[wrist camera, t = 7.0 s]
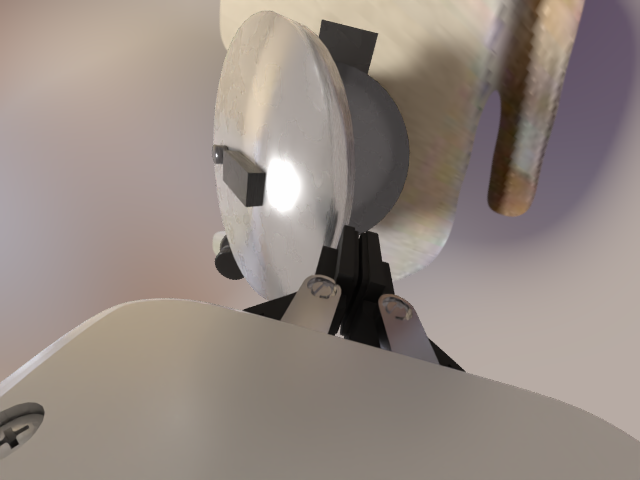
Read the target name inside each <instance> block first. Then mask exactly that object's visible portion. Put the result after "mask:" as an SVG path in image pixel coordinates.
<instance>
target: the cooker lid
mask: <svg viewBox="0 0 640 480" xmlns="http://www.w3.org/2000/svg"><path fill="white" fill-rule="evenodd" d="M212 157H213V161H214V164H215V165H214V166H215V178H216V187H217V194H218V200H219V206H220V211H221V216H222V221H223V224H224V229H225V232H226V236H227V239H228V242H229V245H230V248H231V250H232V253H233V256H234V258H235V260H236V262H237V265H238V267H239V269H240V270H241V272H242V274H243V276H244V277H245V279H246V280H247V282H248V283H249V284H250V286H251V287H252V288H253V289H254V290H255V291H256V292H257V293H258V294H259V295H260V296H262V297H263V298H265V299H267V300H269V301H271V300H274V299H277V298H280V297H283V296H286V295H289V294H292V293H295V292H298V290H299V288H300V287H301V285H302V283H303V281H304V280H305V279H306V278H307V277H309V276H311V275H315V272H316V269H317V265H318V261H319V258H320V254H321V250H322V247H323V245H324V246H327V247H331V248H335V249H337V246H338V242H339V239H340V236H341V233H342V230H343V227H344V225H349V221H350V216H351V210H352V203H353V196H354V180H355V150H354V136H353V128H352V120H351V114H350V109H349V105H348V100H347V96H346V92H345V88H344V85H343V83H342V80H341V77H340V74H339V71H338V68H337V66H336V64H335V62H334V60H333V58H332V56H331V55H330V53H329V51H328V49H327V48H326V46H325V45H324V44H323V42H322V41H321V40H320V38H319V37H318V36H317V35H316V34H315V33H314V32H313V31H311V30H310V29H309V28H308V27H306V26H304V25H302V24H300V23H297V22H295V21H293V20H291V19H288V18H286V17H284V16H282V15H279V14H277V13H275V12H273V11H261V12H258V13H256V14H253V15H252V16H251V17H249V18H248V19H247V20H246V21H245V22H244V23H243V24H242V26H241V27H240V28H239V29H238V31H237V33H236V35H235V36H234V38H233V40H232V42H231V45H230V47H229V49H228V52H227V55H226V58H225V61H224V64H223V68H222V72H221V76H220V80H219V86H218V91H217V99H216V107H215V118H214V145H213V147H212Z"/></svg>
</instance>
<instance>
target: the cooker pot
mask: <svg viewBox="0 0 640 480" xmlns="http://www.w3.org/2000/svg"><path fill="white" fill-rule="evenodd" d="M377 36H378V33H374V32H370V31H366V30H362V29H358V28H354V27H350V26H346V25H342V24H338V23H334V22H330V21H326V20H322V22H321V28H320V34H319V38H320V40H321V41H322V42H323V44H324V45H325V46H326V48H327V49H328V51H329V53H330V55H331V56H332V58H333V60H334V62H335V64H336V66H337V68H338V71H339V74H340V77H341V80H342V83H343V85H344V88H345V92H346V96H347V100H348V105H349V109H350V114H351V120H352V128H353V136H354V150H355V180H354V196H353V203H352V210H351V216H350V221H349V225H348V226H352V227H355V231H359V235H360V234H361V233H364V232H366V231H368V230H369V229H371V228H372V227H373V226H375V225H376V224H377V223H379V222H380V221H381V220H382V219H383V218H384V217H385V216H386V215H387V213H388V212H389V211H390V210H391V209H392V207H393V206H394V204H395V203H396V201H397V199H398V197H399V195H400V193H401V191H402V189H403V186H404V183H405V180H406V177H407V172H408V166H409V141H408V136H407V131H406V127H405V124H404V121H403V118H402V116H401V113H400V112H399V110H398V108H397V106H396V104H395V102H394V101H393V99H392V98H391V97H390V95H389V94H388V93H387V91H386V90H385V89H384V88H383V87H382V86H381V85H380V84H379V83H378V82H377V81H375V80H374V79H373V78H371V77H370V76H369V75H367V74H368V70H369V66H370V63H371V59H372V55H373V51H374V47H375V44H376V40H377Z"/></svg>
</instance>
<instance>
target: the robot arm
mask: <svg viewBox="0 0 640 480" xmlns="http://www.w3.org/2000/svg"><path fill="white" fill-rule="evenodd" d="M340 325H341V329H340V335H343V336H344V338H340V337H337V336H335V334H336V333H337V332H338V330H339V327H340ZM0 480H640V442H639V441H638V440H636V439H635V438H633V437H632V436H630V435H628V434H627V433H625V432H624V431H622V430H621V429H619V428H617V427H615V426H614V425H612V424H610V423H608V422H607V421H605V420H603V419H601V418H599V417H597V416H595V415H593V414H591V413H589V412H587V411H584V410H582V409H580V408H578V407H575V406H572V405H570V404H567V403H565V402H562V401H560V400H557V399H554V398H551V397H548V396H544V395H541V394H538V393H535V392H532V391H529V390H526V389H522V388H519V387H515V386H512V385H509V384H505V383H501V382H498V381H494V380H491V379H487V378H483V377H480V376H477V375H473V374H469V373H466V372H465V371H464V370H463V369H462V368H461V367H460V366H459V365H458V364H456V362H455V361H454V360H452V359H451V358H450V357H449V356H448V355H447V354H446V353H445V352H444V351H442V350H441V349H440V348H439V347H438V346H437V345H435V343H433V342H432V341H431V340H430V339H429V338H428V337H427V335H426V333H425V331H424V328H423V326H422V324H421V322H420V320H419V317H418V315H417V313H416V311H415V309H414V308H413V306H412V305H411V304H410V303H409V302H408V301H406V300H405V299H403V298H401V297H399V296H397V295H395V294H394V289H393V283H392V278H391V272H390V267H389V264H388V263H386V262H382V257H381V250H380V243H379V237H378V234H377V233H374V232H370V231H366V233H361V235H360V238H359V231H355V227H352V226H348V225H344V227H343V230H342V233H341V236H340V239H339V242H338V246H337V249H335V248H331V247H327V246H324V245H323V247H322V250H321V254H320V258H319V261H318V265H317V269H316V272H315V275H311V276H309V277H307V278H306V279H305V280H304V281H303V283H302V285H301V287H300V288H299V290H298V292H295V293H292V294H289V295H286V296H283V297H280V298H277V299H274V300H271V301H268V302H265V303H262V304H259V305H256V306H253V307H250V308H247V309H244V310H242V311H241V310H237V309H232V308H229V307H224V306H220V305H216V304H211V303H207V302H201V301H195V300H186V299H173V298H166V299H165V298H164V299H144V300H137V301H131V302H126V303H123V304H120V305H116V306H114V307H112V308H109V309H107V310H105V311H103V312H101V313H99V314H97V315H95V316H93V317H92V318H90V319H88V320H87V321H85V322H83V323H82V324H80V325H79V326H77V327H76V328H74V329H73V330H72V331H70V332H68V333H67V334H65V335H64V336H62V337H61V338H60V339H58V340H57V341H55V342H54V343H53V344H51V345H50V346H49V347H47V348H46V349H44V350H43V351H41V352H40V353H39V354H37V356H35V357H33V358H32V359H31V360H30V361H28V362H27V363H26V364H24V365H23V366H22V367H20V368H19V369H18V370H17V371H15V372H14V373H12V374H11V375H10V376H8V377H7V378H6V379H5V380H3V381H2V382H1V383H0Z"/></svg>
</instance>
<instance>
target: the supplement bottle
mask: <svg viewBox="0 0 640 480" xmlns="http://www.w3.org/2000/svg"><path fill="white" fill-rule="evenodd" d="M215 265H216V268H217V270H218V271H219V273H221V274H222V275H223V276H225V277H226V278H229V279H232V280H237V279H242V278H244V276H243V274H242V272H241V270H240V269H239V267H238V265H237V262H236V260H235V258H234V256H233V253H232V250H231V248H230V245H229V242H228V239H227V236H226V235H225V236H224V238H223V239H222V241H221V243H220V252H219V254H218V255H217V256H216V258H215Z"/></svg>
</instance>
